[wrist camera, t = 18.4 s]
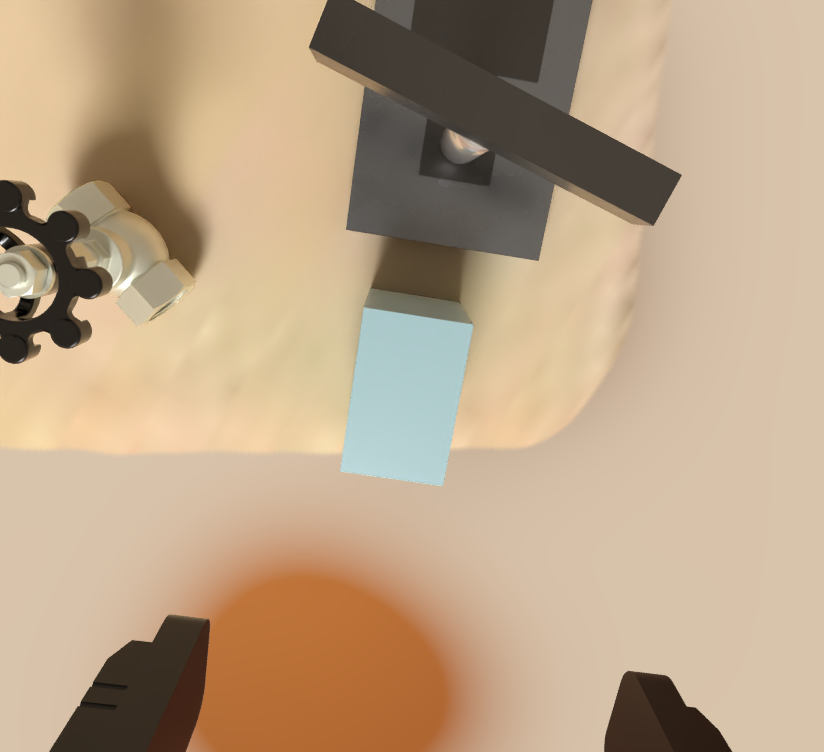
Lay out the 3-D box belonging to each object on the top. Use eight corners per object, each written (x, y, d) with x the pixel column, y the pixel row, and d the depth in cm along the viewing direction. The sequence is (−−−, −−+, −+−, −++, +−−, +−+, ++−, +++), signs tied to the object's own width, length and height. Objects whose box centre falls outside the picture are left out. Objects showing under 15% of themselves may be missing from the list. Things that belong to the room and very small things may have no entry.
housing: (349, 228, 34) (345, 229, 32) (400, -163, 30) (400, -190, 28) (530, 257, 35) (538, 260, 33) (607, -122, 30) (622, -145, 28)
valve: (140, 161, 33) (2, 138, 22) (226, 261, 35) (140, 290, 23) (51, 241, 34) (-127, 260, 23) (139, 336, 36) (13, 399, 24)
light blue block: (351, 423, 37) (340, 471, 31) (370, 287, 35) (363, 307, 29) (435, 435, 38) (443, 486, 31) (459, 302, 36) (473, 324, 29)
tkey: (566, 220, 32) (651, 228, 21) (340, 105, 31) (307, 50, 20) (586, 183, 32) (683, 172, 21) (357, 64, 30) (333, -15, 19)
